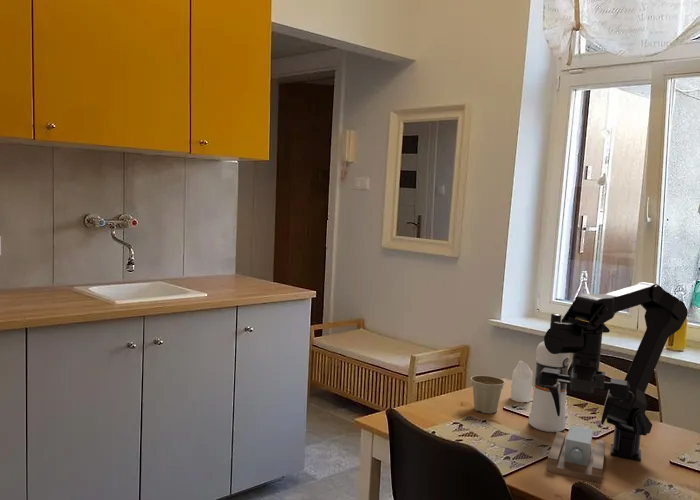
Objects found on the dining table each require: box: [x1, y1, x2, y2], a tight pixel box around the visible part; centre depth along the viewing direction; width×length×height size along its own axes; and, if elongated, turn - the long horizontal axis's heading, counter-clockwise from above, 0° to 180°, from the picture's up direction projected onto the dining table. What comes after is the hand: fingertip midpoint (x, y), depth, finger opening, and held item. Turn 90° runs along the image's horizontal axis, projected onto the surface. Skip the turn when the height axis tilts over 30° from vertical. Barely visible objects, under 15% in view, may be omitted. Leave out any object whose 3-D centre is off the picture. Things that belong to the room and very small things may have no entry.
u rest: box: [546, 431, 606, 484], centre depth 139 cm, size 18×11×3 cm, turn 155°
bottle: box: [564, 425, 594, 466], centre depth 138 cm, size 13×5×5 cm, turn 155°
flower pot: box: [470, 374, 506, 414], centre depth 171 cm, size 9×9×9 cm
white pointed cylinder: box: [510, 360, 534, 403], centre depth 183 cm, size 6×12×6 cm
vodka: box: [528, 313, 571, 433], centre depth 160 cm, size 9×9×30 cm
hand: (580, 419), depth 138 cm, fingers open, 9 cm apart
